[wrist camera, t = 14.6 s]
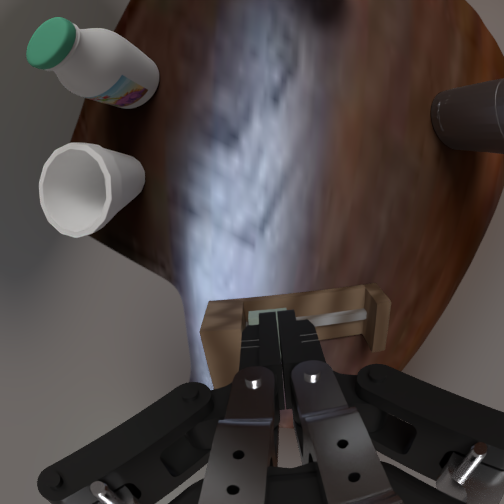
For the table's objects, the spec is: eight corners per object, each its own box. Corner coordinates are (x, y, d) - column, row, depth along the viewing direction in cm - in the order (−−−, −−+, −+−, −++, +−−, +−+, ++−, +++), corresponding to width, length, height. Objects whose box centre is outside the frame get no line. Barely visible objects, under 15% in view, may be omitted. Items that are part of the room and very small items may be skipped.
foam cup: (121, 225, 39) (72, 255, 27) (85, 176, 37) (27, 189, 24) (169, 180, 37) (130, 194, 25) (129, 129, 35) (77, 123, 22)
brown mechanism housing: (375, 283, 41) (397, 308, 34) (367, 361, 46) (382, 392, 38) (208, 301, 42) (199, 331, 35) (225, 378, 47) (220, 412, 39)
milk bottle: (119, 56, 31) (32, 6, 12) (168, 60, 32) (98, -6, 13) (103, 106, 34) (2, 86, 15) (151, 113, 34) (62, 85, 15)
